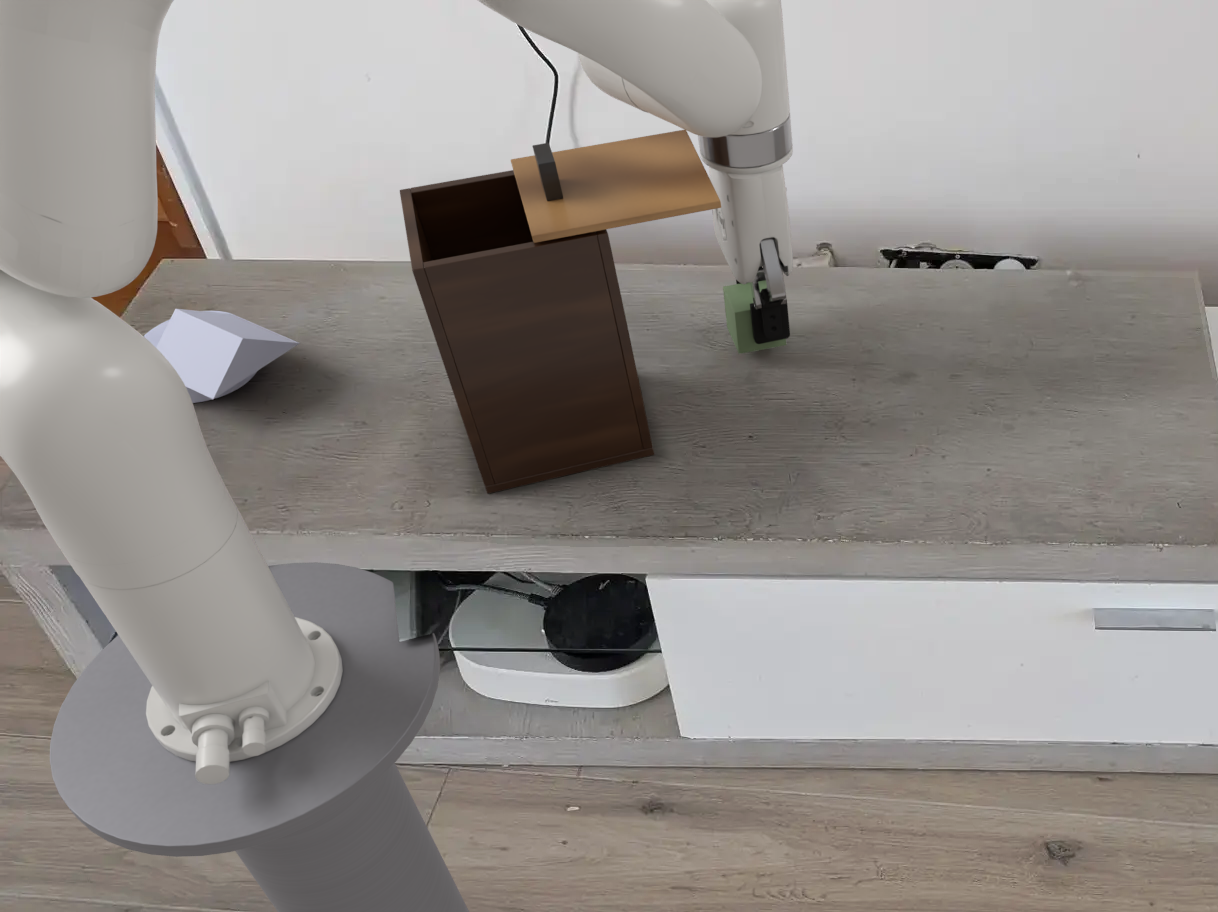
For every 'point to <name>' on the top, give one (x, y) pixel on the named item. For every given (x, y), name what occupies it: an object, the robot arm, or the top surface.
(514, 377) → the box
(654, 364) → the top surface
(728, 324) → the block
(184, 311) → the white faceted chunk
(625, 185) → the lid
